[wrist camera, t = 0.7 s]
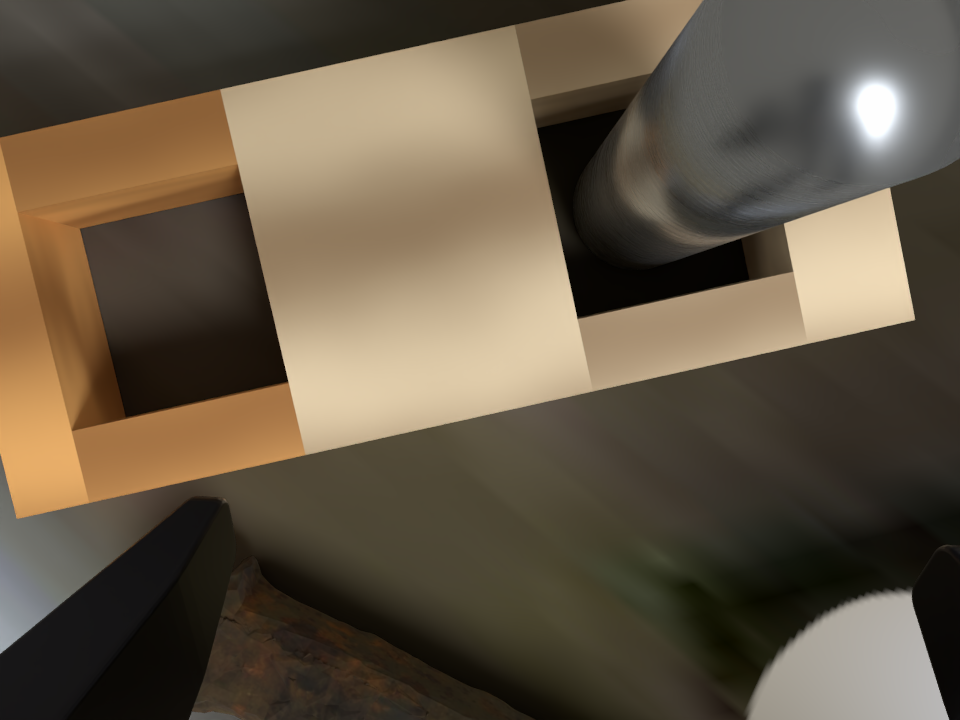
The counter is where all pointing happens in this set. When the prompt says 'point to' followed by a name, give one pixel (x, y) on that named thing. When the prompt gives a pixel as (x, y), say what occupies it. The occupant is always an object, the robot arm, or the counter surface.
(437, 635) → the counter surface
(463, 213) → the rail board
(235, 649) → the brown rough long piece
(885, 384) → the counter surface
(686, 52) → the steel peg
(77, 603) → the robot arm
